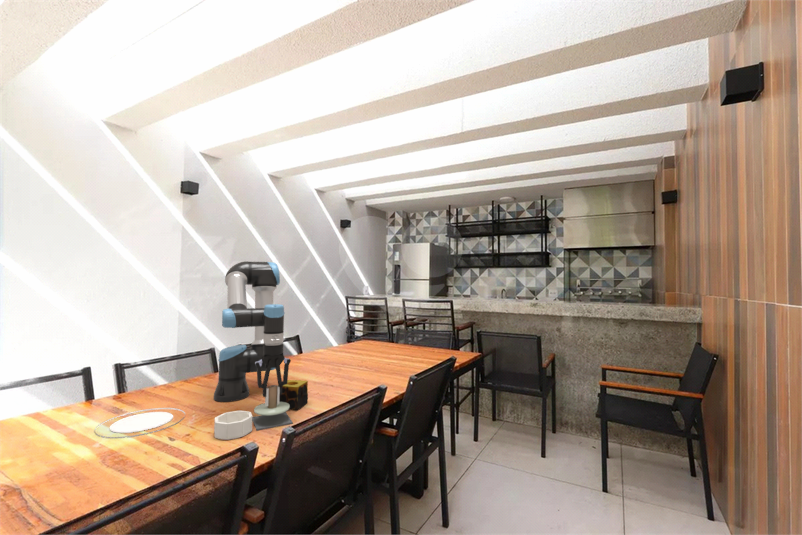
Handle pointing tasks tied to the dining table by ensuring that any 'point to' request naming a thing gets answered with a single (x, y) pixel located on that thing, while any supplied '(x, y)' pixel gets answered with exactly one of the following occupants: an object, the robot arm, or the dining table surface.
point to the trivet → (271, 421)
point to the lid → (272, 404)
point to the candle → (295, 394)
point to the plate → (141, 422)
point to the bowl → (232, 425)
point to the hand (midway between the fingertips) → (272, 404)
